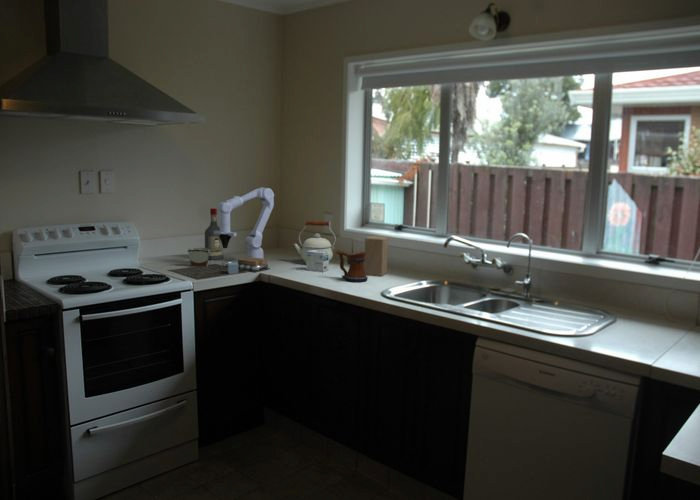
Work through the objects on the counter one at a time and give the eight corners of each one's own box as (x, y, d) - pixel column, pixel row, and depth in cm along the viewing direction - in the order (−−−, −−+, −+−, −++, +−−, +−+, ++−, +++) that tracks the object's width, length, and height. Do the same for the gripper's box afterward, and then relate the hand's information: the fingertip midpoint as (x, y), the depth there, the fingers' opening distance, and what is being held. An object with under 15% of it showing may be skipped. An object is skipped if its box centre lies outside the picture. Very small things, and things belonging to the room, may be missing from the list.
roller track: (235, 264, 334) (235, 259, 334) (269, 268, 323) (269, 263, 322) (220, 267, 323) (220, 262, 322) (255, 272, 311) (255, 267, 311)
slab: (249, 261, 328) (249, 256, 328) (266, 263, 322) (266, 259, 322) (237, 263, 319) (237, 259, 319) (255, 266, 314) (255, 261, 313)
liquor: (203, 258, 350) (203, 208, 345) (218, 257, 355) (217, 207, 351) (210, 261, 343) (209, 209, 338) (224, 259, 348) (224, 209, 343)
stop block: (227, 272, 312) (228, 274, 306) (227, 262, 311) (228, 264, 306) (237, 271, 313) (238, 273, 308) (237, 262, 313) (238, 264, 307)
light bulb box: (329, 270, 323) (329, 251, 322) (323, 272, 317) (323, 252, 316) (311, 268, 328) (312, 249, 326) (306, 270, 322) (306, 250, 320)
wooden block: (386, 273, 319) (388, 236, 316) (381, 276, 309) (383, 239, 306) (369, 271, 322) (370, 235, 319) (363, 275, 313) (364, 237, 310)
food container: (213, 265, 329) (213, 247, 327) (209, 267, 323) (209, 249, 321) (191, 264, 330) (191, 246, 329) (187, 266, 324) (187, 248, 322)
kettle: (338, 261, 350) (339, 220, 347) (331, 267, 333) (332, 223, 329) (297, 259, 355) (298, 218, 351) (289, 264, 337) (289, 221, 333)
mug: (330, 279, 300) (330, 250, 298) (342, 275, 310) (343, 247, 308) (359, 283, 291) (360, 253, 288) (371, 280, 300) (372, 251, 298)
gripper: (210, 223, 326) (210, 247, 328) (230, 225, 319) (230, 250, 321) (218, 222, 332) (218, 246, 334) (238, 224, 325) (238, 248, 327)
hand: (225, 248), depth 328 cm, fingers closed
